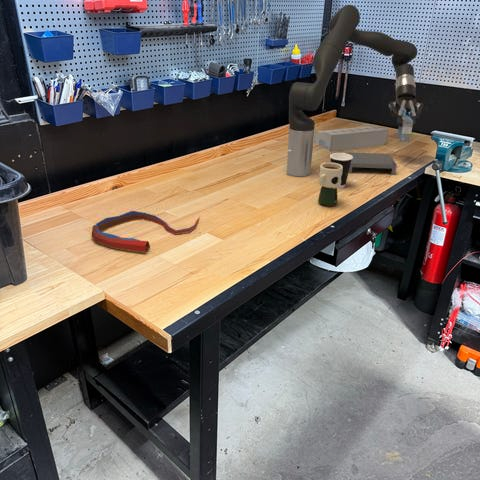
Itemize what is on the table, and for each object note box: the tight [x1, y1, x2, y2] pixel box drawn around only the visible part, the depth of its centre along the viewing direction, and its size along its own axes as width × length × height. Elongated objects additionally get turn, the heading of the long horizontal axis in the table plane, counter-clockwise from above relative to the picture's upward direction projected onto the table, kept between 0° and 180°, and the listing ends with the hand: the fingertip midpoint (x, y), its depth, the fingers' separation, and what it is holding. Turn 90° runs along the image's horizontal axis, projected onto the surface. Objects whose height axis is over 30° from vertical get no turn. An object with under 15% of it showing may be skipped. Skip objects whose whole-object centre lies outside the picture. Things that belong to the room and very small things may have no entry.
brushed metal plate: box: [344, 151, 398, 176], centre depth 181 cm, size 18×14×4 cm
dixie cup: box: [329, 152, 353, 189], centre depth 162 cm, size 8×8×11 cm
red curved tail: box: [91, 210, 201, 254], centre depth 132 cm, size 31×22×5 cm
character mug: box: [317, 161, 343, 207], centre depth 147 cm, size 11×7×13 cm, turn 136°
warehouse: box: [313, 125, 389, 152], centre depth 211 cm, size 30×14×8 cm, turn 112°
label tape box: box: [397, 108, 414, 143], centre depth 183 cm, size 9×4×12 cm, turn 171°
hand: (406, 125), depth 181 cm, fingers closed on label tape box, 4 cm apart
